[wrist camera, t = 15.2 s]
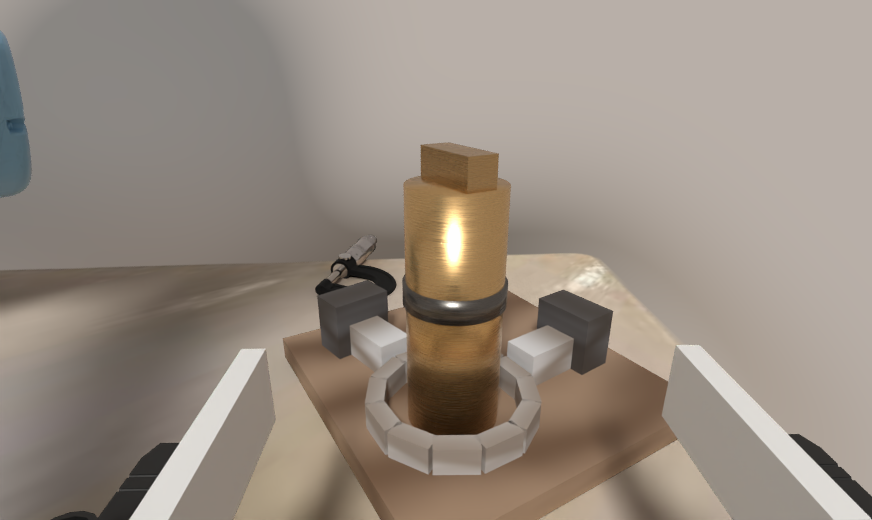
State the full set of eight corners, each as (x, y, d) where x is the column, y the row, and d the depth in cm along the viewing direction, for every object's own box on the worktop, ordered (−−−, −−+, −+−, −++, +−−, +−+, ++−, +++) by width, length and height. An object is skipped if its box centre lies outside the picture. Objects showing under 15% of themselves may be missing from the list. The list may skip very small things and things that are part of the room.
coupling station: (285, 356, 36) (276, 289, 34) (494, 298, 45) (497, 243, 43) (420, 586, 20) (419, 485, 18) (702, 425, 29) (720, 346, 27)
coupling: (389, 401, 29) (380, 145, 24) (464, 374, 31) (471, 138, 26) (436, 459, 25) (438, 163, 19) (519, 422, 27) (541, 152, 22)
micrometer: (383, 309, 44) (382, 283, 43) (308, 302, 45) (305, 276, 44) (422, 252, 58) (421, 231, 57) (363, 247, 59) (362, 227, 58)
